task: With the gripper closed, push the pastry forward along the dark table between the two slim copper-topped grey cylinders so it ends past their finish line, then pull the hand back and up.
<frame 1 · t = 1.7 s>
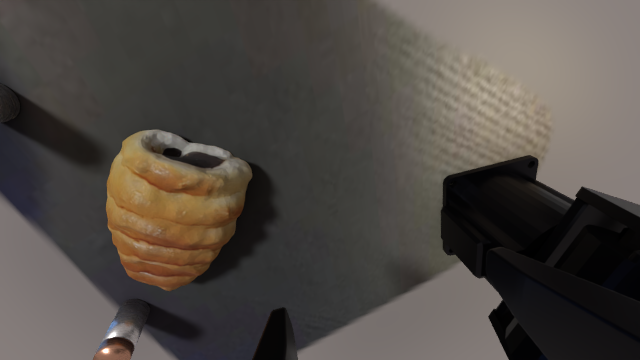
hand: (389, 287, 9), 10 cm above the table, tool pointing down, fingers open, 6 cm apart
copper-topped grey cylinders: (78, 224, 17), on the table
pastry: (186, 196, 18), on the table
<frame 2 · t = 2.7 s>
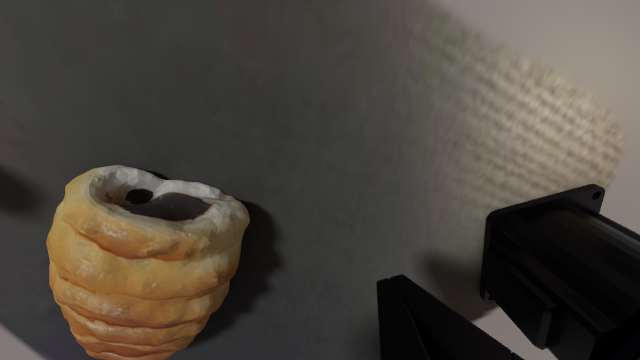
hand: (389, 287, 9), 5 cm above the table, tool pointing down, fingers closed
pastry: (165, 245, 14), on the table
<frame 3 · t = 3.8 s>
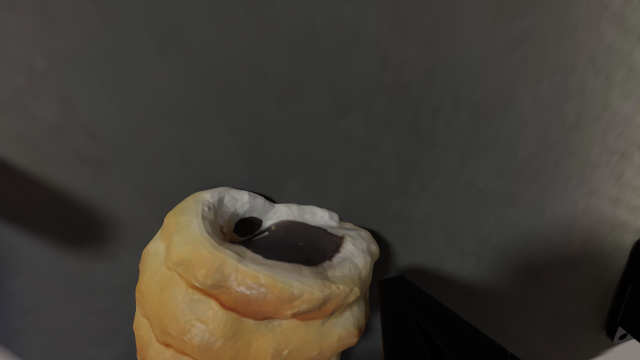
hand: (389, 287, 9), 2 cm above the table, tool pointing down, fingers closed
pastry: (257, 281, 11), on the table, touching gripper
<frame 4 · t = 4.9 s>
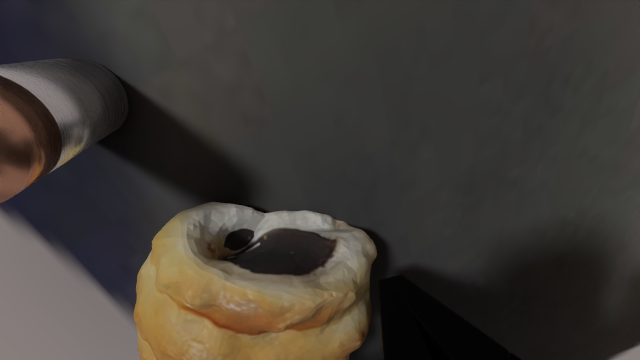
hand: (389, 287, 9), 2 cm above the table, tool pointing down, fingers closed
copper-topped grey cylinders: (196, 303, 10), on the table
pastry: (260, 290, 11), on the table
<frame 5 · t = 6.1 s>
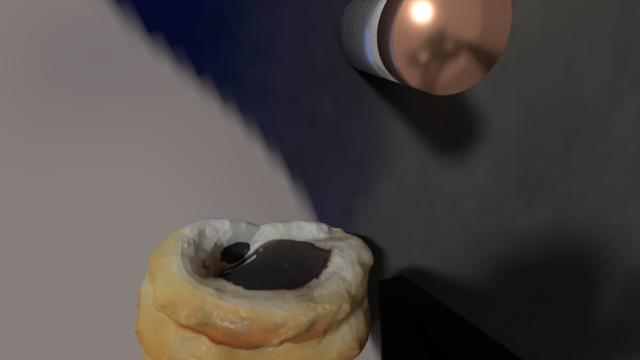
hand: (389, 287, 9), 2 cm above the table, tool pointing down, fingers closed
copper-topped grey cylinders: (394, 249, 11), on the table
pastry: (262, 298, 11), on the table, touching gripper
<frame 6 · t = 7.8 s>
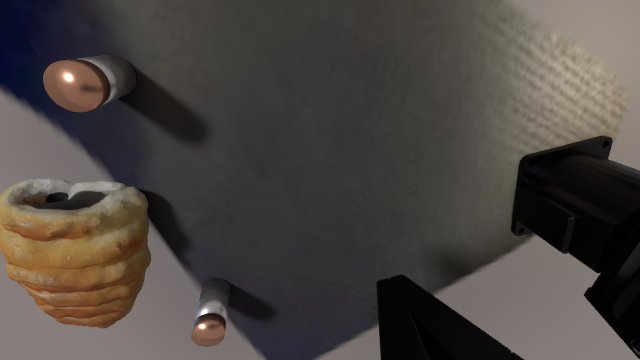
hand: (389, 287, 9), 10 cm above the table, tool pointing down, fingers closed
copper-topped grey cylinders: (174, 201, 17), on the table
pastry: (100, 234, 18), on the table
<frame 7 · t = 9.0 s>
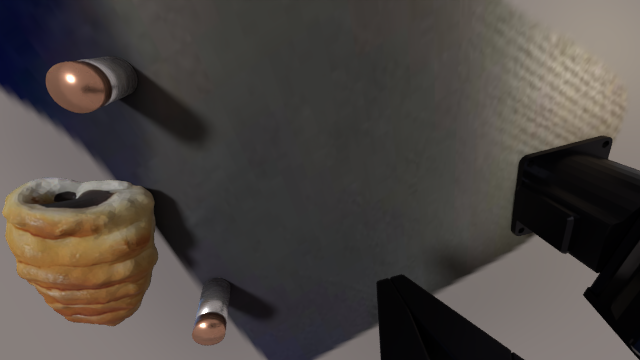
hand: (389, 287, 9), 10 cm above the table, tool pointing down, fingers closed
copper-topped grey cylinders: (175, 201, 17), on the table
pastry: (107, 233, 18), on the table
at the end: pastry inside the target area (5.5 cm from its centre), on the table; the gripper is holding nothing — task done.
